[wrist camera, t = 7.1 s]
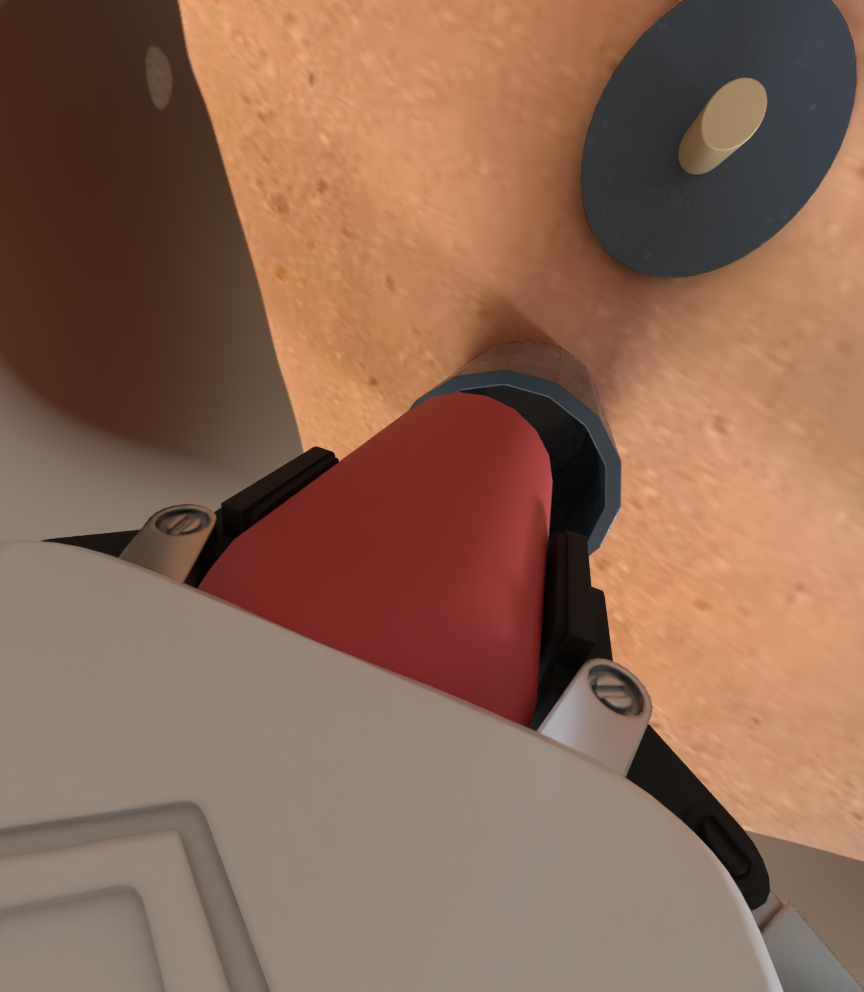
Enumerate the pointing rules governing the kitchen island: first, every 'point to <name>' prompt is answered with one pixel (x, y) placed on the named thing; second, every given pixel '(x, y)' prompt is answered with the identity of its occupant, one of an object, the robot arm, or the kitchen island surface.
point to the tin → (554, 428)
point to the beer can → (416, 553)
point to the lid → (716, 131)
